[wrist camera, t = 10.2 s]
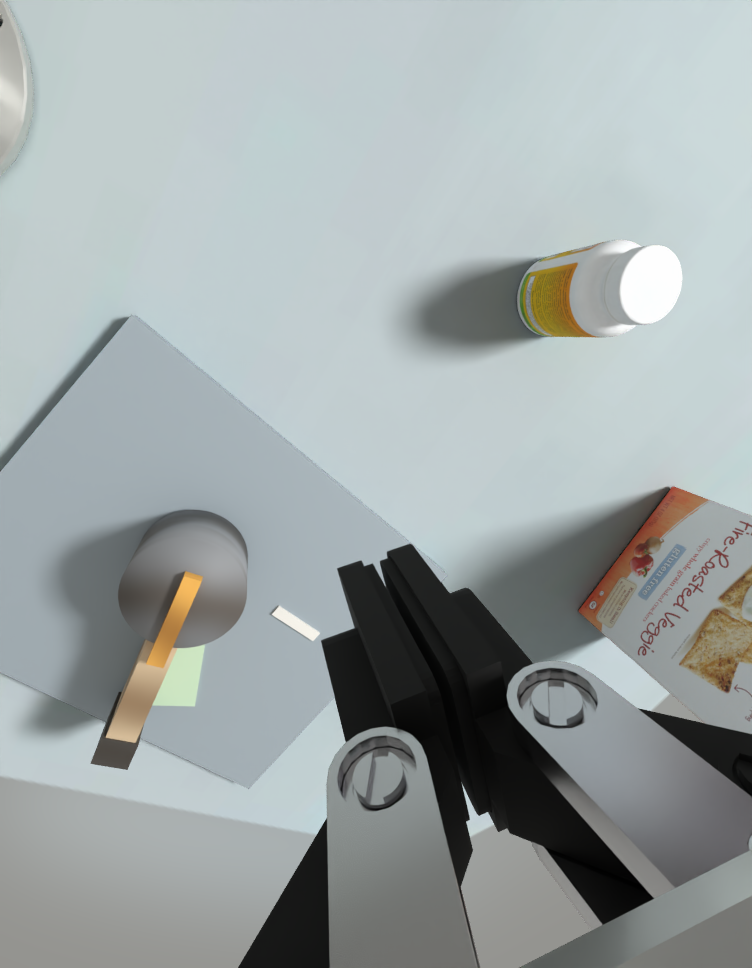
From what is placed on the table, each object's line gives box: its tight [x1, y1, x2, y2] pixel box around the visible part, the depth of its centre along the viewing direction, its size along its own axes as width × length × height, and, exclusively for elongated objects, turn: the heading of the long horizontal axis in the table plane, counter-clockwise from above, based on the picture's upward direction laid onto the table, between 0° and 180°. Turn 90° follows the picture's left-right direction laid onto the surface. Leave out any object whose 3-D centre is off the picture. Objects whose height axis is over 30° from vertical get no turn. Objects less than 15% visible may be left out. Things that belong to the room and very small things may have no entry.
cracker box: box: [579, 487, 752, 734], centre depth 35 cm, size 14×6×21 cm, turn 146°
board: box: [0, 315, 447, 789], centre depth 34 cm, size 28×24×1 cm
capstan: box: [91, 510, 248, 770], centre depth 31 cm, size 16×7×6 cm, turn 153°
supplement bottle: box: [517, 240, 682, 337], centre depth 30 cm, size 5×5×10 cm
